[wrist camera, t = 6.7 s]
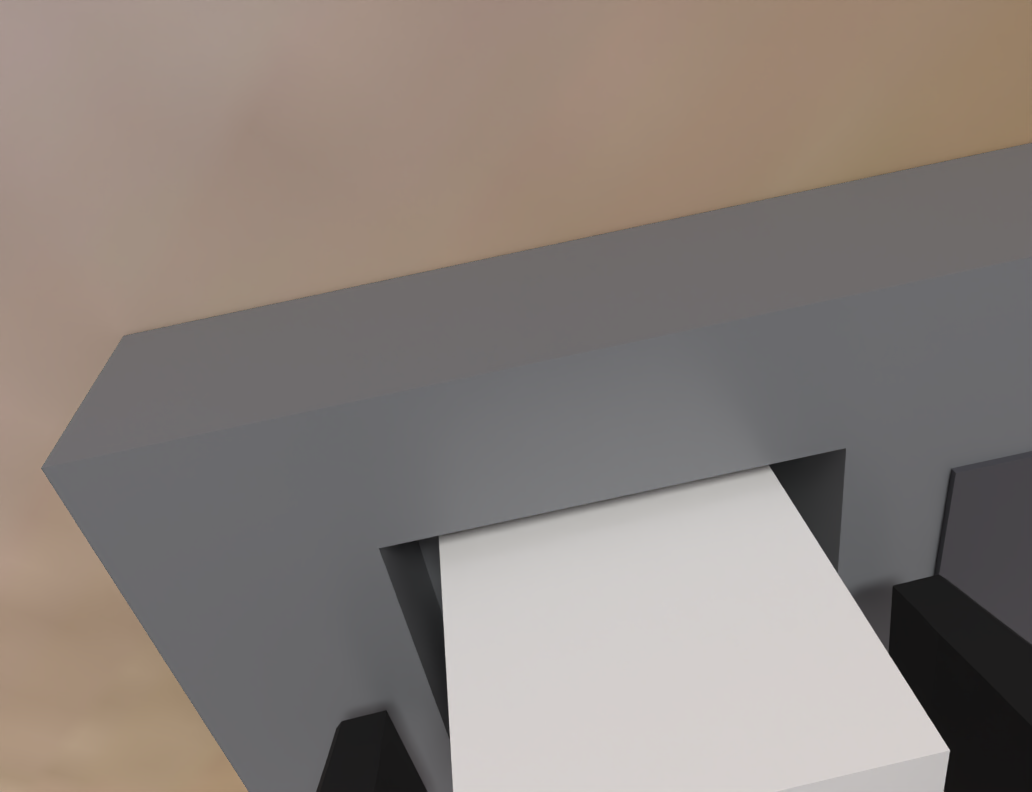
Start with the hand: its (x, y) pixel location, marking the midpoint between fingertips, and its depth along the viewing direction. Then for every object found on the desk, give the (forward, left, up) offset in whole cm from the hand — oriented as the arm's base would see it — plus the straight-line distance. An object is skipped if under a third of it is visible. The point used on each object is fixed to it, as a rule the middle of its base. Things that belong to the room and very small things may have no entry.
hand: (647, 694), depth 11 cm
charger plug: (0, 0, -3) cm, 3 cm away
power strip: (-5, 0, -4) cm, 6 cm away
